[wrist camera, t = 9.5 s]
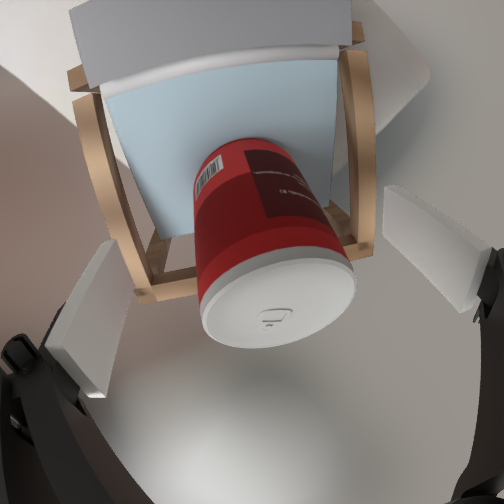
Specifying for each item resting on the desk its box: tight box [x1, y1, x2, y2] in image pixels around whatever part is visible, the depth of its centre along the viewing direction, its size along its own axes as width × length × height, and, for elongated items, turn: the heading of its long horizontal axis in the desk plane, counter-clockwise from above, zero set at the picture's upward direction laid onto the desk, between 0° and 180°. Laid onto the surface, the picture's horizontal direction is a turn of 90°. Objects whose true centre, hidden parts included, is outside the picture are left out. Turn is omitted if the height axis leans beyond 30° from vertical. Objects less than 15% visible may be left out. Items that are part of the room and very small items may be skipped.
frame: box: [67, 21, 376, 304], centre depth 23 cm, size 18×19×14 cm
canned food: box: [193, 138, 357, 348], centre depth 17 cm, size 8×8×11 cm
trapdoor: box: [69, 0, 352, 240], centre depth 16 cm, size 19×15×6 cm
